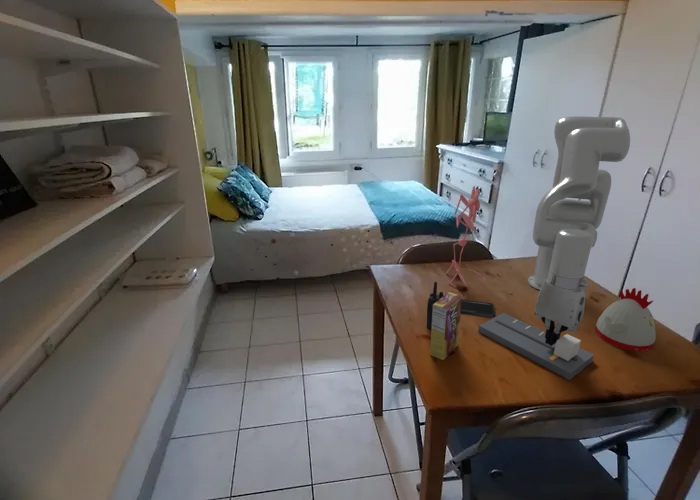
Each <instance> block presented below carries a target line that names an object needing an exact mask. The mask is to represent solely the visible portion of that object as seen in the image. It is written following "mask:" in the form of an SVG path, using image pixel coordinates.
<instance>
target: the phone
mask: <svg viewBox="0 0 700 500" xmlns="http://www.w3.org/2000/svg"><path fill="white" fill-rule="evenodd" d="M461 314H465V315H473V316H479V317H480V316H481V317H486V318H494V317H496V311H495V304H493V302H492V303H490V302H483V301H478V300H477V301H475V300H468V299H462V303H461Z"/></svg>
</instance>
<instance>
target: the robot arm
mask: <svg viewBox="0 0 700 500" xmlns="http://www.w3.org/2000/svg"><path fill="white" fill-rule="evenodd" d="M553 133H554V139H555V143H556V147H557V151H558V152H557V153H558V156H557V162H556V167H555V171H554V177H553V180H552V181H553V182H552V188H550V190H548V191H547V192H546V193H545V194H544V195H543V197H542V198H541V200H540V201H539V203H538V205H537V209H536V211H535V217H534V224H533V230H532V240H533V242H534V244H536V245H537V247H538V250H537V255H536V260H535V265H534V270H533V275H530V276H529V277H528V279H527V283H528V285H530V286H531V287H532V288H533V289H536V290H539V292H538V295H537V299H536V303H535V307H534V308H535V312H534V316H535V317H537V318H539V319H540V320H541V321H542V323H543V325H544V328H545V330H546V331H545V332H546V334H545V338H546V341H545V343H546V344H549V345H550V346H552V345H554V344H555V343H556V341H557V340H558V339H560V338H561V334H562V332H566V331H567V332H571V333H576V332H578V331H579V329H580V327H579V324H580V323H582V321H583V318H584V312H585V307H586V306H585V304H586V289H587V288H588V287H589V286H590V282H588V281H586V280H585V278H586V276H585V274H586V269H587V266H588V261H589V257H590V253H591V249H593V248H594V247H595V245H596V242H597V238H598V231H597V229H598V228H600V225H601V223H602V221H603V217H604V214H605V212H606V211H605V210H606V207H607V203H608V199H609V196H610V193H611V187H612V176H611V173H609V171H607V170H604V169H599V167H600V162H611V163H612V162H613V163H618V162H622V161H623V160H625V158H626V157H627V155H628V153H629V151H630V146H631V135H630V129H629V127H628V125H627V122H626V120H625V119H624V118H621V117H615V116H614V117H612V116H611V117H610V116H600V117H599V116H567V117H565V116H564V117H561V118H560V119H558V120H557V122H555V125H554V132H553ZM567 198H568V199H567Z"/></svg>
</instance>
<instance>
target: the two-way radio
mask: <svg viewBox="0 0 700 500" xmlns="http://www.w3.org/2000/svg"><path fill="white" fill-rule="evenodd" d="M437 292H438V282H437V281H434V283H433V291H432V293H430V294H429V297H428V300H427V305H426V306H427V307H426V328H427V329H430V330H431V328H432V311H433V304H435V303H436V302H437V301H438V300H440V299H441V298H442V297H443V296H444V292H443V291H439V294H438V293H437Z"/></svg>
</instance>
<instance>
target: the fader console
mask: <svg viewBox="0 0 700 500" xmlns="http://www.w3.org/2000/svg"><path fill="white" fill-rule="evenodd" d="M477 331H478V333H480V334H481V335H482V334H483V335H484V336H487V338H490V339H492V340H494V341H495V342H497V343H499V344H501V345H503V346H505V347H507V348H509V349H510V350H513V351H514V352H516V353H518V354H519V355H522V356H523V357H525V358H527V359H529V360H531V361H532V362H535V363H537V364H538V365H540V366H543V367H545V368H546V369H548V370H550V371H552V372H554V373H556V374H557V375H559V376H561V377H563V378H564V379H567V380H569V381H570V380H572V379H573V378H574V377H575V376H576V375H578V374H579V373H581V371H582V370H584V368H587V366H589V365H590V364H591V363H592V362H593V361H594V357H595V354H594V353H592V352H590V351H587V350H585V349H583V348H581V347H579V351H578V354H577V355H575V356H574V357H573V358H571V359H570V360H569V361H567V360H565V359H563V358H561V357H559V356H557V355H555V354H554V350H555V346H556V343H555V344H554V345H552V346H550V345H549V344H546V343H545V341H546V338H545V334H546V331H544V330H541V329H540V328H537V327H535V326H533V325H532V324H529V323H527V322H525V321H522V320H520V319H518V318H516V317H514V316H511V315H509V314H507V313H505V312H502V313H500V314H498V315H497V316H496V315H495V316H494V317H492V318H491V319H489V320H486V321H485V322H483V323H481V324H479V325H478V330H477Z"/></svg>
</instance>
